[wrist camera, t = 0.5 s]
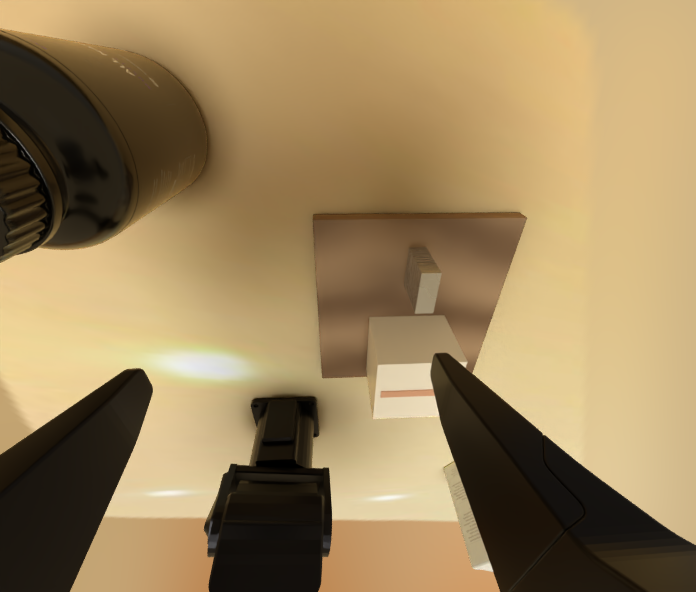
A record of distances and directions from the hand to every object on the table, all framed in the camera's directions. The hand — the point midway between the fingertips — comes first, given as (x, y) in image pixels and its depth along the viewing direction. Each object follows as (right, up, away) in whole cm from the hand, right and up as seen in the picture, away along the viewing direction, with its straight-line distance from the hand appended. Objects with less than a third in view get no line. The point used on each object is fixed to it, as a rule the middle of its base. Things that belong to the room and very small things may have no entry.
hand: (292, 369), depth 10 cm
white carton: (+6, -2, +16) cm, 18 cm away
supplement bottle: (-9, +12, +8) cm, 17 cm away
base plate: (+6, +2, +15) cm, 17 cm away
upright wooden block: (+7, +4, +12) cm, 14 cm away
